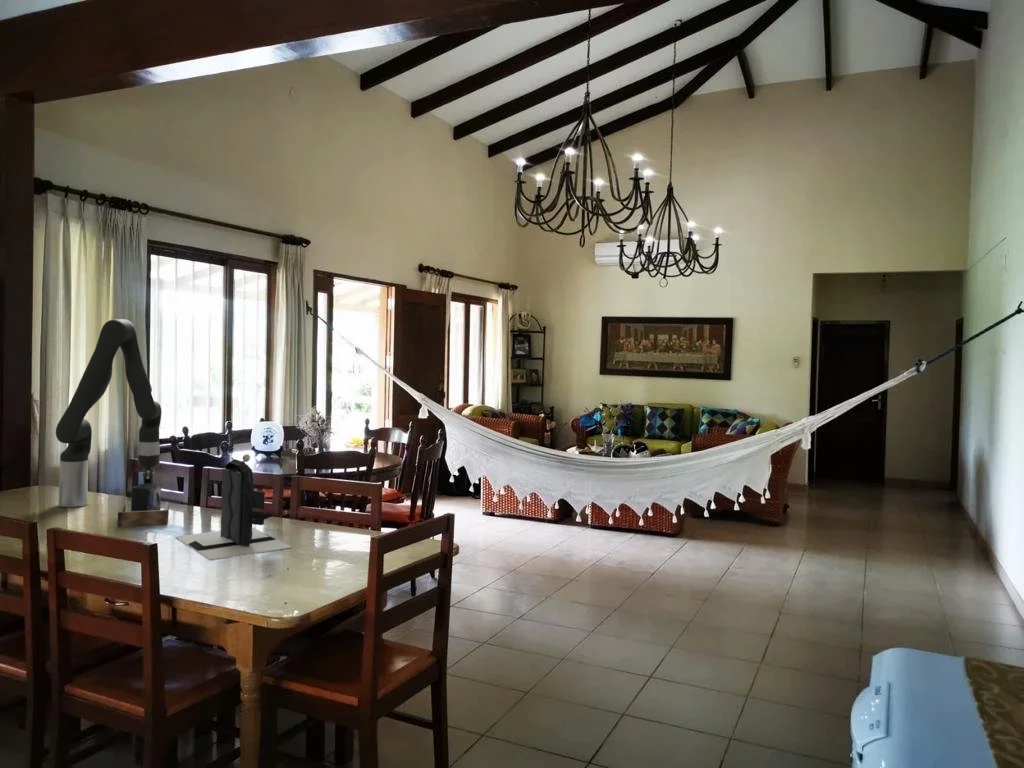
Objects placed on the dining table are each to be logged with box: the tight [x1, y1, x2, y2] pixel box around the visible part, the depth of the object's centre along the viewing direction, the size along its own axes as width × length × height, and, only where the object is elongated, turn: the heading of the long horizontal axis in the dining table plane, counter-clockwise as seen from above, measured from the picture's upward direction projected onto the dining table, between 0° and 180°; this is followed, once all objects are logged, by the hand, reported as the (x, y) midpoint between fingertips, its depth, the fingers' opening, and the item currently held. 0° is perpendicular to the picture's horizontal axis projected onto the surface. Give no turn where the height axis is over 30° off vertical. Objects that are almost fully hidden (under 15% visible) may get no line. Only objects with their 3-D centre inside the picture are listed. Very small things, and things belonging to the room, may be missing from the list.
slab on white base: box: [174, 453, 292, 561], centre depth 243 cm, size 32×25×28 cm
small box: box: [130, 482, 162, 511], centre depth 280 cm, size 11×6×10 cm, turn 179°
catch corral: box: [117, 501, 170, 528], centre depth 268 cm, size 15×15×5 cm
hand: (148, 498), depth 290 cm, fingers closed
